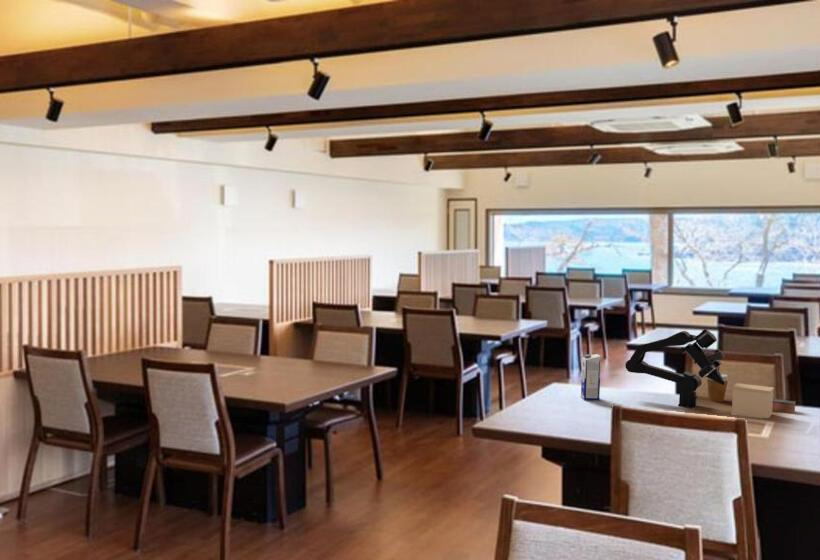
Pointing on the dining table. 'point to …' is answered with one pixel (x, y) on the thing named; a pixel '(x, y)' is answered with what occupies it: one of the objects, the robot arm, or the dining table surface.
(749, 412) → the kraft carton
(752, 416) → the board
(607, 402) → the dining table surface
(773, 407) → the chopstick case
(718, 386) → the disposable coffee cup
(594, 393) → the milk carton
